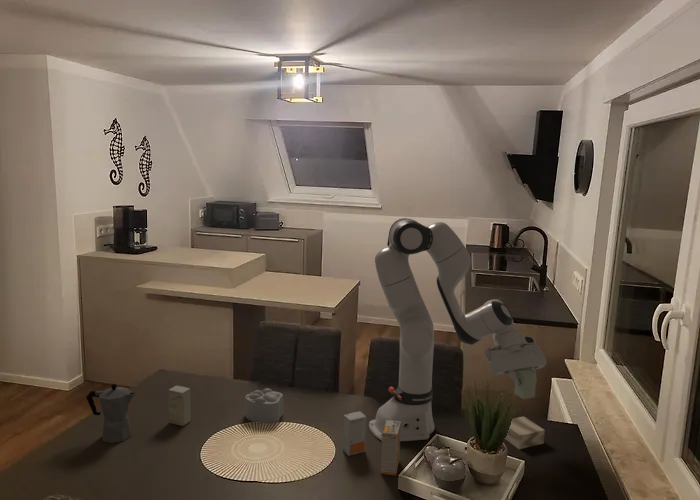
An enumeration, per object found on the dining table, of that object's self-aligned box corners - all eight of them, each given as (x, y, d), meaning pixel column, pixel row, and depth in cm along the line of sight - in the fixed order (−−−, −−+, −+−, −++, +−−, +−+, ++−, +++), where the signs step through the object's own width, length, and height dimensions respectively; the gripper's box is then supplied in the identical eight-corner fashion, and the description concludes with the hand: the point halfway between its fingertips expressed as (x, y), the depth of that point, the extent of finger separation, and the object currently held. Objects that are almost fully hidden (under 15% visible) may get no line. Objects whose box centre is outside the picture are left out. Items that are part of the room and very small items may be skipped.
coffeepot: (142, 429, 180) (139, 378, 177) (132, 443, 170) (129, 390, 167) (95, 429, 179) (92, 378, 176) (82, 443, 170) (78, 390, 167)
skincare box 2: (348, 456, 165) (349, 420, 163) (342, 450, 169) (342, 414, 167) (365, 452, 168) (366, 416, 166) (359, 445, 171) (360, 410, 169)
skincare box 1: (168, 423, 184) (167, 389, 182) (177, 417, 188) (176, 384, 186) (183, 426, 182) (182, 392, 180) (192, 420, 186) (190, 387, 184)
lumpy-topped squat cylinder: (276, 424, 184) (276, 401, 183) (240, 420, 186) (240, 397, 185) (285, 410, 194) (285, 388, 193) (251, 407, 196) (250, 385, 195)
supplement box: (396, 476, 155) (398, 434, 153) (380, 474, 156) (381, 432, 154) (400, 461, 163) (401, 420, 161) (384, 459, 164) (385, 419, 162)
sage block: (523, 399, 172) (525, 375, 171) (514, 393, 176) (516, 370, 175) (534, 397, 173) (536, 373, 172) (525, 391, 178) (527, 368, 176)
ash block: (519, 450, 171) (520, 435, 170) (499, 435, 180) (500, 421, 179) (543, 444, 175) (544, 430, 174) (522, 429, 184) (523, 416, 183)
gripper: (487, 344, 175) (504, 384, 167) (538, 337, 182) (557, 375, 174) (479, 352, 180) (495, 391, 172) (529, 345, 187) (546, 383, 179)
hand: (526, 383), depth 173 cm, fingers closed on sage block, 4 cm apart
